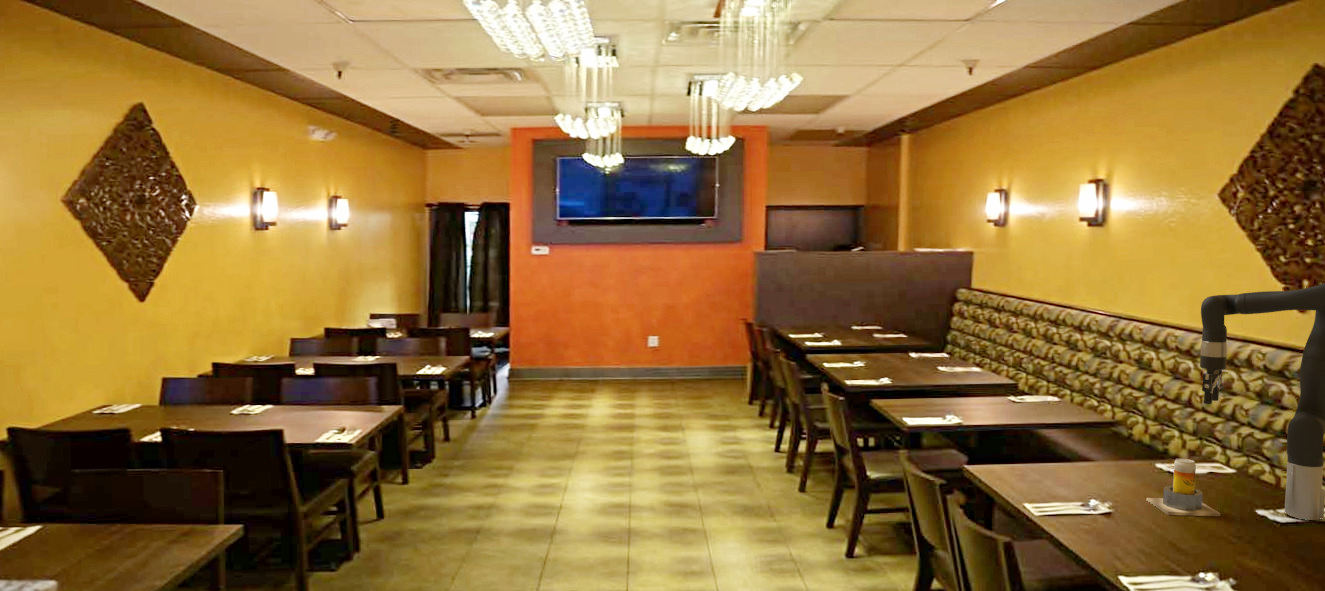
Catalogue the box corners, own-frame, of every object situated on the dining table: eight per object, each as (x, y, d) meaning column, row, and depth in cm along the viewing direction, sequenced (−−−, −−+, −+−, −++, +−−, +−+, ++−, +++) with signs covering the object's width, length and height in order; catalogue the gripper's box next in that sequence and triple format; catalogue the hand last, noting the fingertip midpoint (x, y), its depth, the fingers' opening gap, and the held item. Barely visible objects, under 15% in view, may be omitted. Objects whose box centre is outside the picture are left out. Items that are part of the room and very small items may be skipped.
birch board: (1195, 501, 297) (1196, 499, 297) (1220, 516, 282) (1220, 513, 282) (1146, 500, 298) (1146, 497, 298) (1167, 514, 284) (1168, 511, 283)
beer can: (1192, 509, 286) (1194, 464, 285) (1171, 506, 290) (1173, 461, 288) (1194, 504, 291) (1196, 460, 290) (1173, 501, 294) (1175, 457, 293)
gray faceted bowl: (1191, 500, 295) (1191, 486, 295) (1208, 511, 284) (1209, 495, 284) (1157, 499, 296) (1157, 485, 296) (1173, 510, 285) (1173, 494, 285)
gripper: (1220, 357, 290) (1218, 406, 292) (1231, 353, 300) (1229, 400, 302) (1195, 355, 296) (1192, 403, 297) (1206, 351, 306) (1204, 397, 307)
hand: (1211, 402), depth 299 cm, fingers open, 8 cm apart
